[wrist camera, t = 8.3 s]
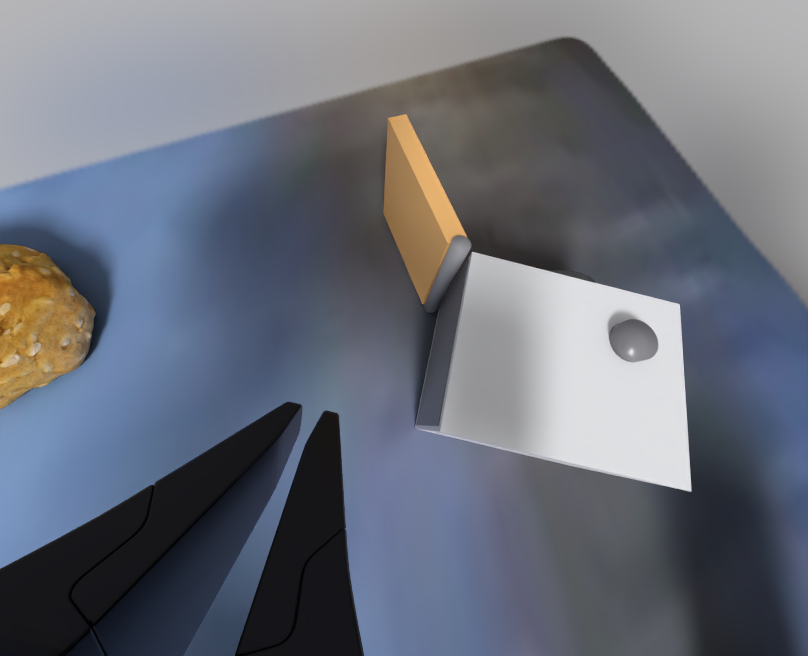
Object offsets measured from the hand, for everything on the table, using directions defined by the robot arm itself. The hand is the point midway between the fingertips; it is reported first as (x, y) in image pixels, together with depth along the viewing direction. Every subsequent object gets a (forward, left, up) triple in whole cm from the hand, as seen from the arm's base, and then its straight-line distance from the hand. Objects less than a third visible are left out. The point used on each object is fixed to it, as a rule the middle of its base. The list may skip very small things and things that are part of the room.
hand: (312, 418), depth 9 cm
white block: (+10, 0, -10) cm, 15 cm away
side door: (+6, +10, -10) cm, 16 cm away
